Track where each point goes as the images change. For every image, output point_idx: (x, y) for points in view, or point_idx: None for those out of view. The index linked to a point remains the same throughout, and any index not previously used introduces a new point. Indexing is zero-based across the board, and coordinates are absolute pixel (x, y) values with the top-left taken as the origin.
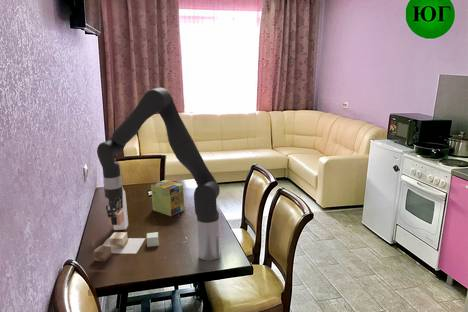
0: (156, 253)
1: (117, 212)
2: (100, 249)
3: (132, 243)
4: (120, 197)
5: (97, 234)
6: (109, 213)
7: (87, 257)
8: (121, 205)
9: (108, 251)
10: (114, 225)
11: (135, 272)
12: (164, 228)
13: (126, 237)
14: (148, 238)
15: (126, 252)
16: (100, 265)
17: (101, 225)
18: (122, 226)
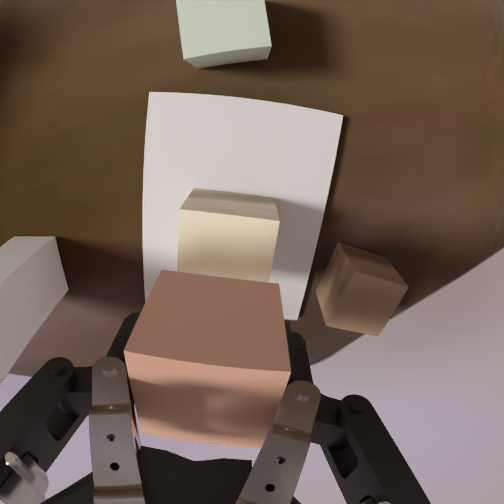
0: (338, 10)
1: (206, 397)
2: (372, 312)
3: (211, 157)
4: (3, 476)
5: (110, 344)
6: (341, 461)
7: (316, 337)
8: (89, 412)
9: (371, 269)
10: (54, 300)
11: (482, 117)
12: (38, 35)
13: (205, 201)
14: (269, 34)
15: (322, 172)
16: (399, 272)
17: (43, 340)
18: (47, 260)
